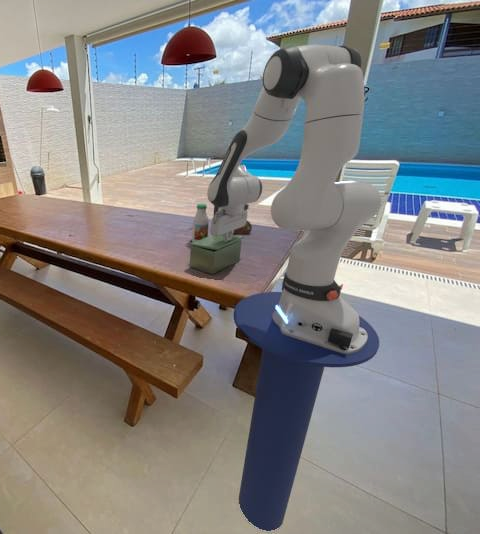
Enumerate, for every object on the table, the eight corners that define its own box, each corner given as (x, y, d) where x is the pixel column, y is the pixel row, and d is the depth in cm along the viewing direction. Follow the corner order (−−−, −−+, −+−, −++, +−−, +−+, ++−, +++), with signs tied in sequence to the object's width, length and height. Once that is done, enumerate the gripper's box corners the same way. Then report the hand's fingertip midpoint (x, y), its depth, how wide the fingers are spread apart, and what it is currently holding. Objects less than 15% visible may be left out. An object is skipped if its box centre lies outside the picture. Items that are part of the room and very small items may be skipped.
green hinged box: (239, 261, 134) (241, 240, 131) (212, 274, 123) (214, 251, 120) (216, 254, 143) (218, 234, 139) (189, 266, 132) (190, 245, 128)
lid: (244, 238, 130) (244, 236, 129) (216, 250, 119) (216, 248, 118) (218, 234, 139) (218, 232, 139) (190, 245, 128) (190, 243, 128)
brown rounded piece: (221, 234, 169) (222, 220, 166) (221, 232, 172) (222, 218, 168) (250, 236, 165) (252, 221, 161) (250, 234, 167) (252, 219, 164)
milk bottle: (189, 243, 159) (190, 205, 151) (197, 239, 164) (199, 202, 155) (202, 246, 154) (204, 207, 146) (210, 242, 159) (213, 204, 150)
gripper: (221, 213, 111) (218, 249, 117) (251, 204, 123) (247, 237, 128) (207, 211, 116) (205, 245, 121) (237, 202, 127) (234, 234, 133)
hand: (227, 241), depth 125 cm, fingers closed, pressing on lid
